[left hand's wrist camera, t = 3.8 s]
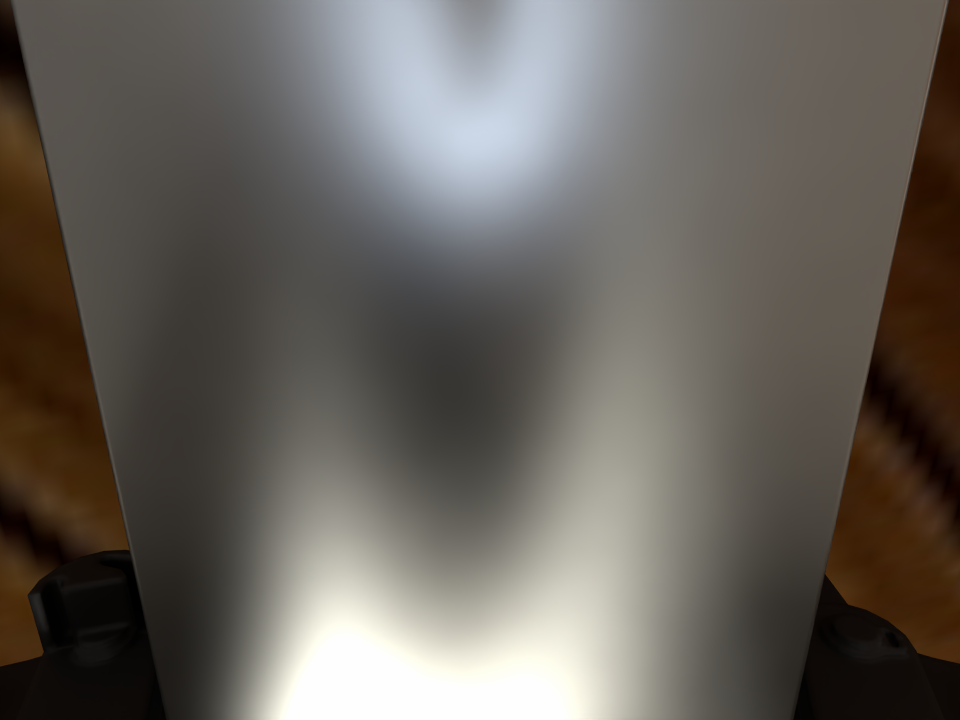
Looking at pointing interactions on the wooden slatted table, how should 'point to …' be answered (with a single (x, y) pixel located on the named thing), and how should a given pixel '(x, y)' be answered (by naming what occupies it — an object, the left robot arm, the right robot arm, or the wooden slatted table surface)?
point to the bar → (479, 336)
